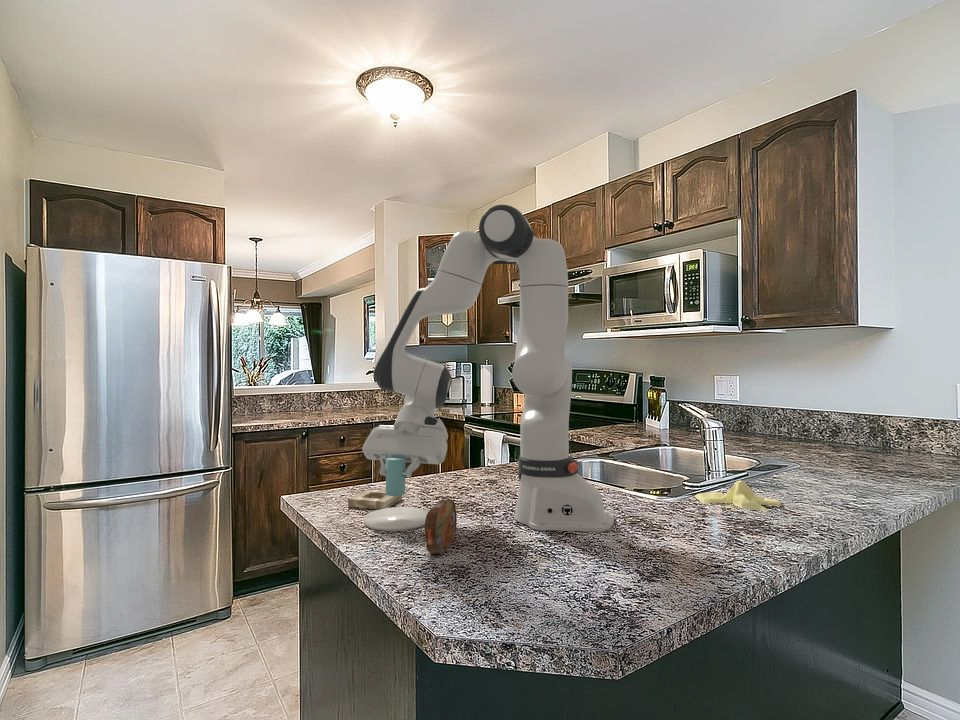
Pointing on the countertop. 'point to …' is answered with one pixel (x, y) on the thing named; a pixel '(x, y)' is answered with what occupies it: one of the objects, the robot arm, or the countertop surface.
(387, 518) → the round white disc
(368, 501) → the pocket block
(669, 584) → the countertop surface
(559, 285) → the robot arm
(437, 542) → the tin
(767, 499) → the cloth
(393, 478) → the peg
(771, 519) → the countertop surface
